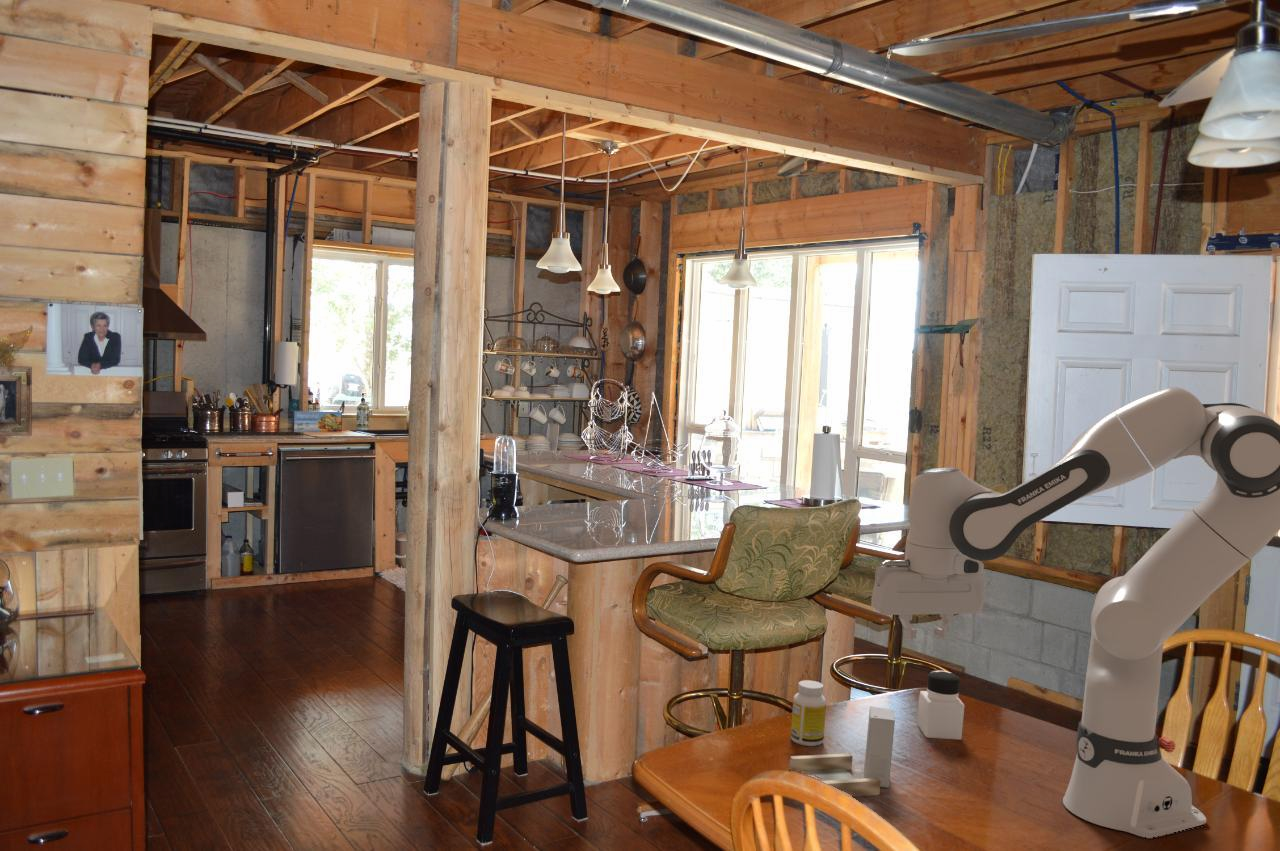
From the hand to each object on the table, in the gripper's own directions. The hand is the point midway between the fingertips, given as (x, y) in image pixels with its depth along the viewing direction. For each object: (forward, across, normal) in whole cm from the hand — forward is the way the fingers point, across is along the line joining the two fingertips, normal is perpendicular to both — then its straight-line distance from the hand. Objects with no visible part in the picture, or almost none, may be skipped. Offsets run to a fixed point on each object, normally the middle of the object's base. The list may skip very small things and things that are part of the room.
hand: (924, 638), depth 178 cm
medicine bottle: (+25, +17, +19) cm, 36 cm away
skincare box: (+25, -7, 0) cm, 26 cm away
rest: (+25, -15, 0) cm, 29 cm away
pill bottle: (+25, -12, +18) cm, 33 cm away
